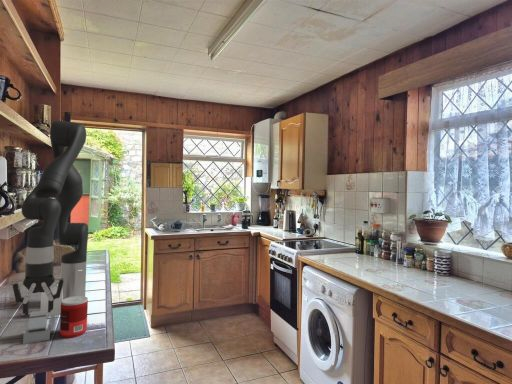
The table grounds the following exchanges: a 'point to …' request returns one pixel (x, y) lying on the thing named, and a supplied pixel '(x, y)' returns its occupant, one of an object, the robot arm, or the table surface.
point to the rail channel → (36, 336)
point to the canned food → (73, 316)
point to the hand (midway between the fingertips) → (38, 312)
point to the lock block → (37, 321)
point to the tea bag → (56, 304)
